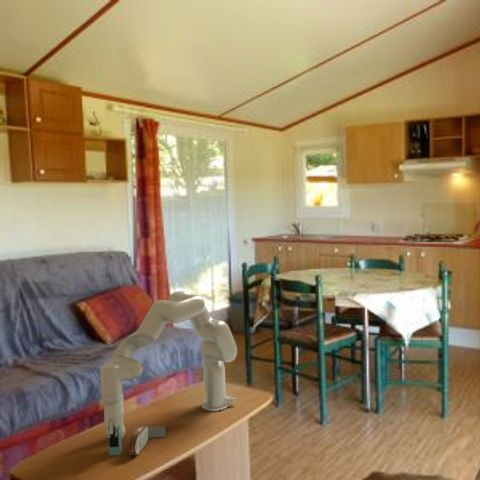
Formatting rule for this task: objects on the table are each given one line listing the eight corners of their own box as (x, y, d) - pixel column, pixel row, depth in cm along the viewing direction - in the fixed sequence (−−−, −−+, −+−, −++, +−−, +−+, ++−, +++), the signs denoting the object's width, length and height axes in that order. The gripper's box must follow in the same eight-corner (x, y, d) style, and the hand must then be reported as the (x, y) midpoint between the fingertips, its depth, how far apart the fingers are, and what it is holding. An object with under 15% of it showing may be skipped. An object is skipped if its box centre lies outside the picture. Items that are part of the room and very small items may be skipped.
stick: (121, 449, 201) (119, 414, 200) (120, 454, 197) (118, 418, 196) (110, 450, 201) (108, 414, 199) (109, 455, 197) (107, 419, 195)
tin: (143, 440, 208) (142, 419, 207) (151, 440, 208) (149, 419, 207) (128, 459, 194) (127, 437, 193) (136, 459, 193) (135, 437, 192)
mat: (166, 427, 219) (166, 425, 219) (165, 437, 210) (165, 435, 210) (137, 429, 218) (137, 427, 218) (134, 439, 209) (134, 438, 209)
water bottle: (119, 432, 215) (116, 373, 213) (129, 438, 210) (125, 377, 208) (103, 438, 210) (100, 377, 208) (113, 444, 205) (109, 382, 203)
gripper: (105, 388, 205) (108, 434, 207) (97, 406, 188) (100, 455, 190) (125, 387, 205) (127, 432, 207) (119, 404, 189) (122, 454, 191)
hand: (115, 443), depth 199 cm, fingers closed on stick, 4 cm apart
